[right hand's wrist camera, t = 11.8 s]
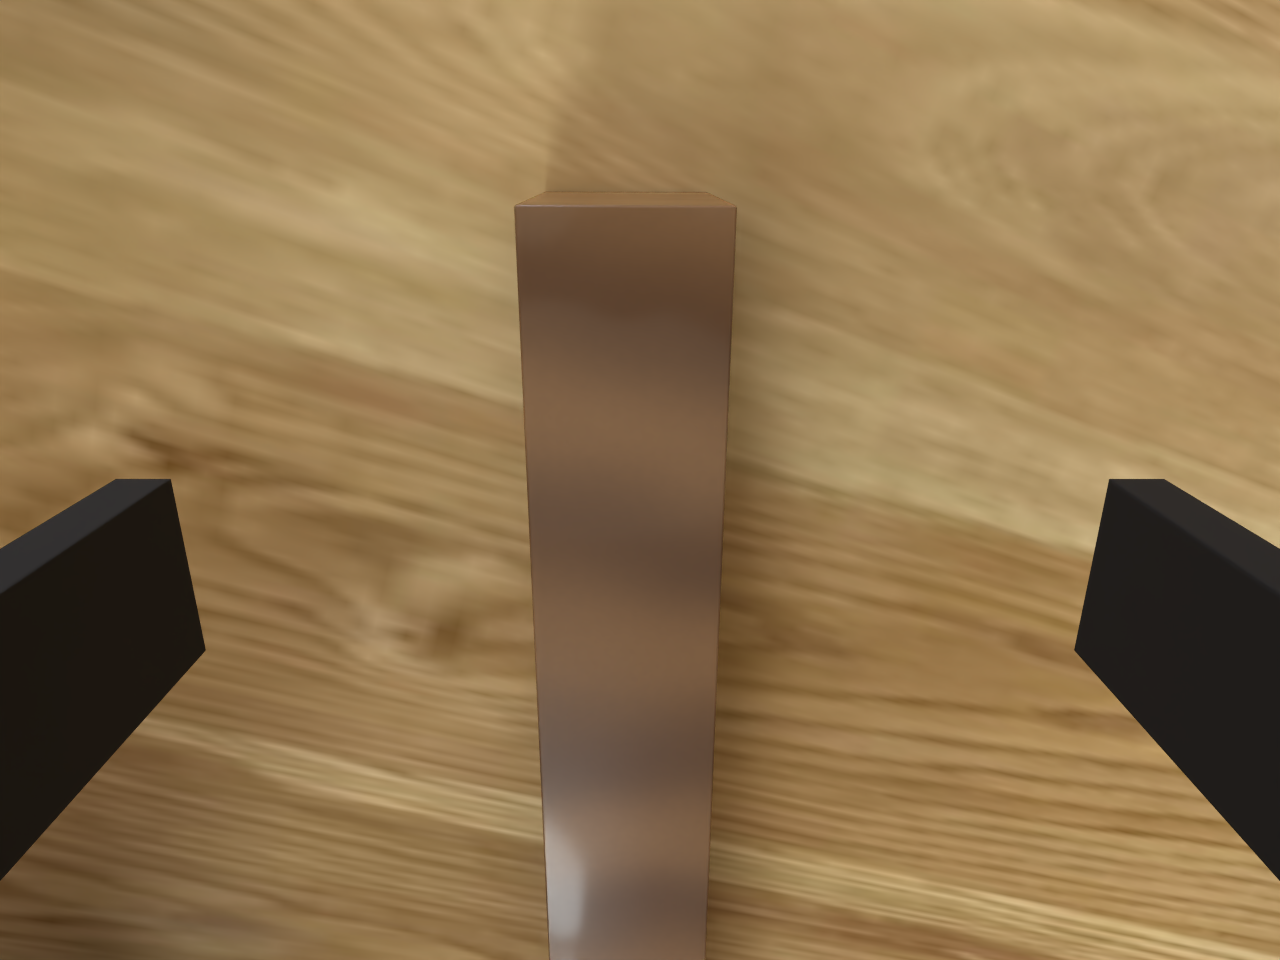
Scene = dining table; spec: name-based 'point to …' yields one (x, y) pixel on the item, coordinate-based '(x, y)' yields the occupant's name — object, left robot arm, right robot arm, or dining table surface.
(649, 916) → the beam
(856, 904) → the dining table surface
